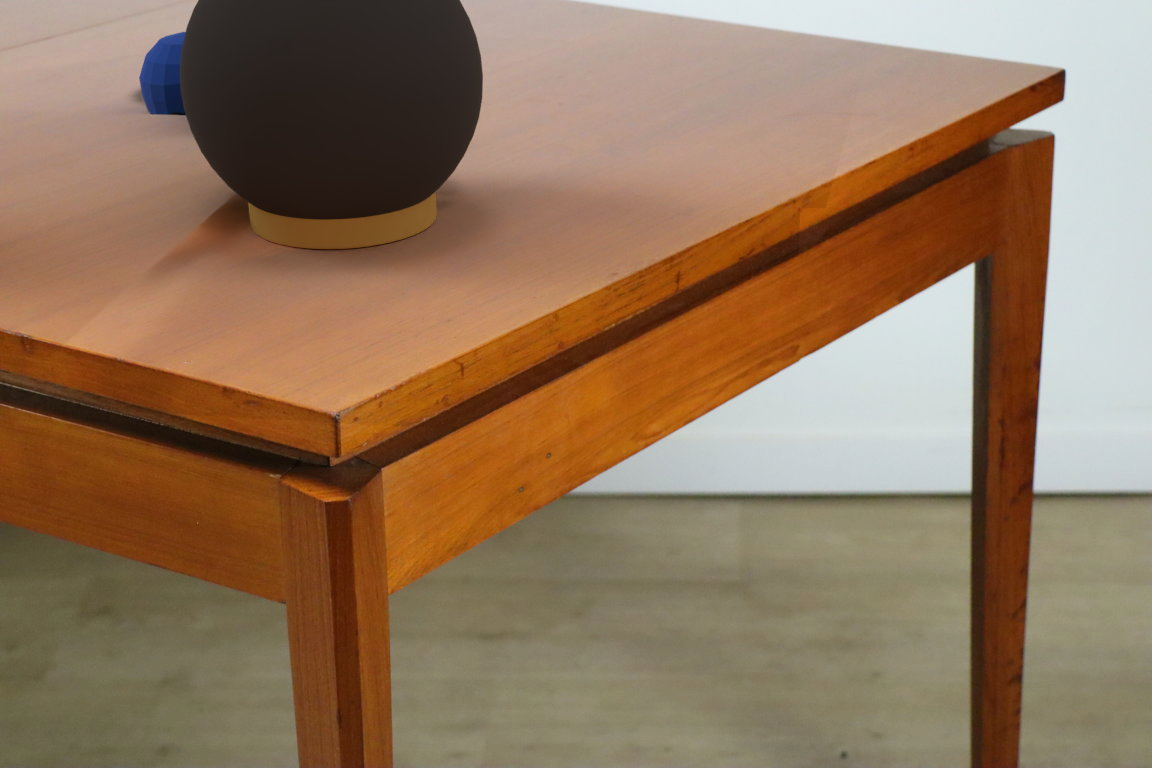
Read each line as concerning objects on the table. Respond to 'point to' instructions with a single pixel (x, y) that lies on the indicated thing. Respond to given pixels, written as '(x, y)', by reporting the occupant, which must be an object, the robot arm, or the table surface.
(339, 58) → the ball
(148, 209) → the table surface
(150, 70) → the toy
